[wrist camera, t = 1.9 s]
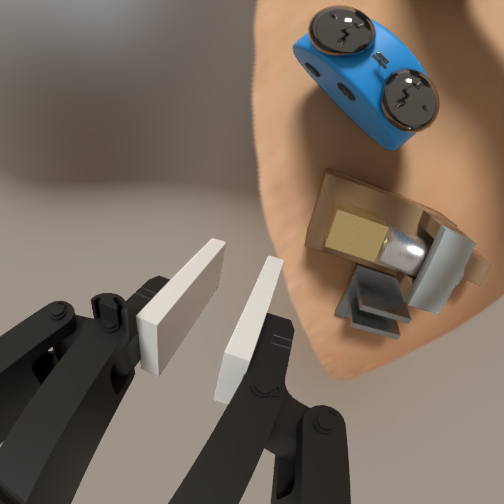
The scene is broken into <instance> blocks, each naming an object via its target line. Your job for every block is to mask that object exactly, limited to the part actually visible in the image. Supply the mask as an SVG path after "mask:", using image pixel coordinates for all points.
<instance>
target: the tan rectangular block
mask: <svg viewBox="0 0 504 504" xmlns="http://www.w3.org/2000/svg"><path fill="white" fill-rule="evenodd" d="M388 228H389V227H388V225H387V224H386V223H385V221H384V220H383V218H382V217H381V216H380V215H379V214H376V213H373V212H371V211H368V210H365V209H362V208H359V207H357V206H354V205H351V204H348V203H345V202H342V201H339V200H336V199H335V201H334V205H333V208H332V211H331V214H330V217H329V220H328V223H327V226H326V229H325V246H326V247H329V248H332V249H335V250H338V251H341V252H344V253H347V254H350V255H353V256H356V257H359V258H362V259H365V260H368V261H371V262H375V260H376V257H377V255H378V253H379V250H380V248H381V246H382V243H383V241H384V238H385V236H386V233H387V231H388Z"/></svg>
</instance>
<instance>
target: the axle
mask: <svg viewBox="0 0 504 504" xmlns="http://www.w3.org/2000/svg"><path fill="white" fill-rule="evenodd" d="M388 227H389V228H388V231H387V233H386V236H385V238H384V241H383V243H382V246H381V248H380V250H379V253H378V255H377V257H376V260H375V262H373V263H375V264H378V265H381V266H384V267H387V268H390V269H393V270H396V271H399V272H402V273H405V274H408V275H410V276H413V277H417V275H418V273H419V271H420V269H421V267H422V265H423V263H424V261H425V259H426V257H427V255H428V253H429V251H430V248H431V246H432V244H433V243H432V242H430V241H428V240H425V239H423V238H420V237H418V236H415V235H413V234H410V233H408V232H405V231H403V230H400V229H397V228H395V227H392V226H390V225H388ZM464 270H465V268H464ZM464 270H463V272H462V274H461V276H460V278H459V280H458V281H457V283H456V285H455V287H457V286H458V284H459V283H460V281H461V280H462V277H463V274H464ZM455 287H454V288H455Z"/></svg>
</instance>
